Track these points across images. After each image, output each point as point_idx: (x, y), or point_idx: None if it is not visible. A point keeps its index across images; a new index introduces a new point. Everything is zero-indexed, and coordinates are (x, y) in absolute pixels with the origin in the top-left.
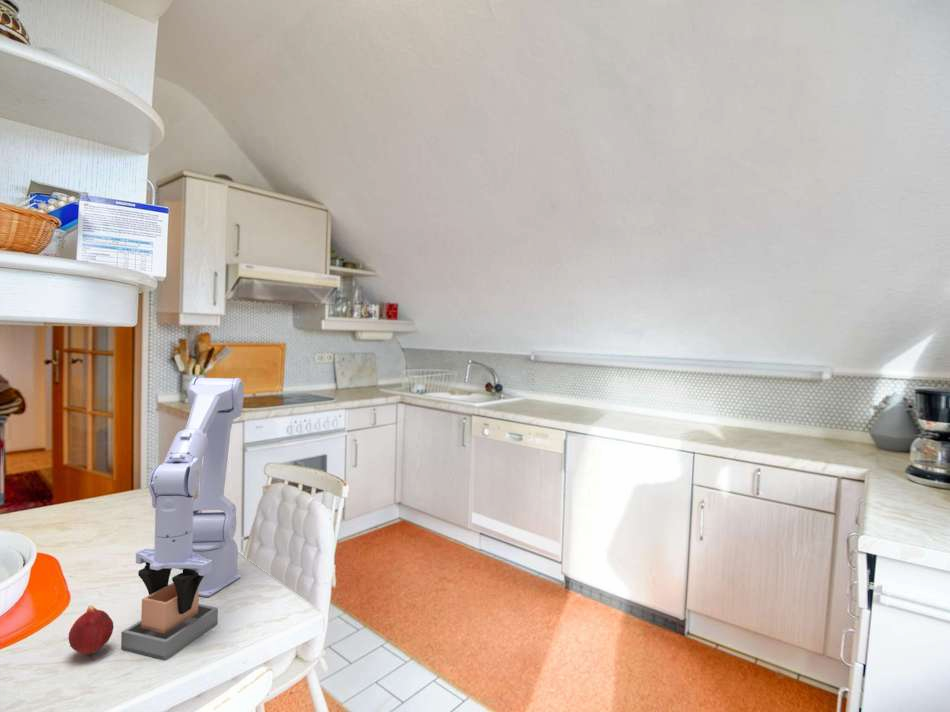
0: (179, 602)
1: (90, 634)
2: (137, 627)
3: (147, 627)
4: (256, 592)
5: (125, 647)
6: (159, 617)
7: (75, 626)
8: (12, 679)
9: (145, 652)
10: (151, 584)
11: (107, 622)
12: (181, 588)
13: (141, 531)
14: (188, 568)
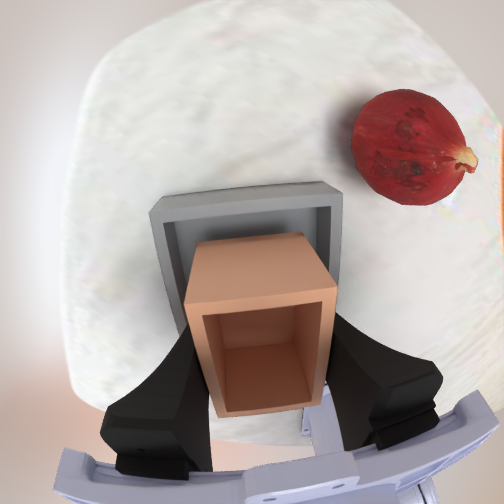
0: (185, 341)
1: (382, 107)
2: (326, 236)
3: (274, 236)
4: (232, 423)
5: (310, 184)
6: (222, 264)
7: (440, 104)
8: (422, 36)
9: (234, 190)
10: (352, 359)
11: (386, 167)
12: (144, 388)
13: (491, 389)
14: (164, 482)
